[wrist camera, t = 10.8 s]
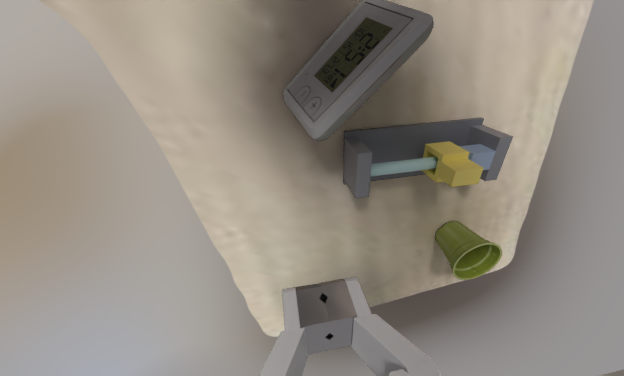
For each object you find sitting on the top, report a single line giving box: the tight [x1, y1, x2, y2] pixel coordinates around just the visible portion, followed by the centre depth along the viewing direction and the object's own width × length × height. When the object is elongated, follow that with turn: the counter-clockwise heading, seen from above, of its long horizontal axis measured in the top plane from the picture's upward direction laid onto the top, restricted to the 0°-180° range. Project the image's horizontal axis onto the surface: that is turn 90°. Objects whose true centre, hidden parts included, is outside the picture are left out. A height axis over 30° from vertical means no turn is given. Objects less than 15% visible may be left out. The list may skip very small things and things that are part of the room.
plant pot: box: [435, 221, 502, 280], centre depth 49 cm, size 9×9×9 cm
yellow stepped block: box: [421, 141, 483, 187], centre depth 36 cm, size 4×4×7 cm
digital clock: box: [283, 0, 434, 141], centre depth 28 cm, size 16×9×11 cm, turn 123°
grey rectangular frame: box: [343, 118, 513, 198], centre depth 39 cm, size 23×9×6 cm, turn 93°
